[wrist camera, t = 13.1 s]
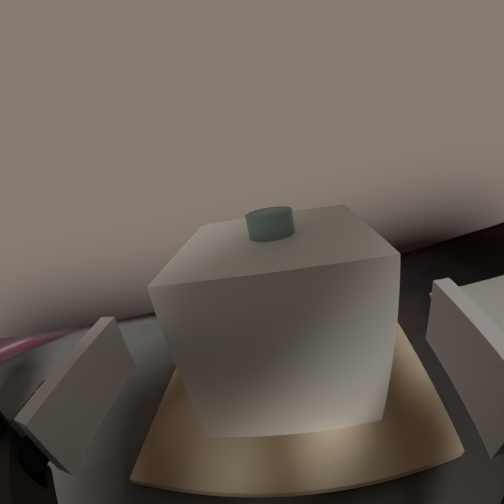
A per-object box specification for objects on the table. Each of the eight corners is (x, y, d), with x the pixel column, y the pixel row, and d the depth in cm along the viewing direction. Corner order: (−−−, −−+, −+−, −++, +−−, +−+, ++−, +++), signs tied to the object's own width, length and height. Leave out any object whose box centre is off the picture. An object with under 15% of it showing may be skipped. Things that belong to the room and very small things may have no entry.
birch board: (380, 301, 26) (381, 295, 26) (460, 456, 9) (464, 450, 9) (198, 323, 28) (197, 318, 28) (133, 483, 12) (129, 478, 11)
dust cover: (350, 326, 23) (342, 187, 19) (381, 419, 13) (399, 223, 10) (230, 340, 24) (199, 208, 20) (208, 436, 15) (138, 259, 11)
